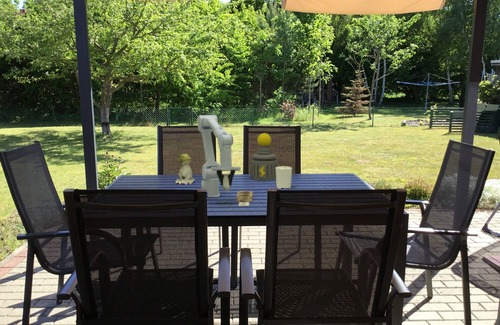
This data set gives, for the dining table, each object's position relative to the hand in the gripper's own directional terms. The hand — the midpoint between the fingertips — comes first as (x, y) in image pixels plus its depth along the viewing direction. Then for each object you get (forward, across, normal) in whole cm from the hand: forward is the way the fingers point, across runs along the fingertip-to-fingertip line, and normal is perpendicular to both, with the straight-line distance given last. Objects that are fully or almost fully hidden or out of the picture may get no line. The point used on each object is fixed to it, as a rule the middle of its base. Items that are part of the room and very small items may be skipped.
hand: (226, 185), depth 209 cm
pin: (+2, 0, 0) cm, 2 cm away
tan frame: (+9, +9, +10) cm, 16 cm away
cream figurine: (+10, -31, +54) cm, 63 cm away
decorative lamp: (+10, +20, +67) cm, 71 cm away
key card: (+9, +9, -2) cm, 13 cm away
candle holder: (+10, +31, +37) cm, 49 cm away
